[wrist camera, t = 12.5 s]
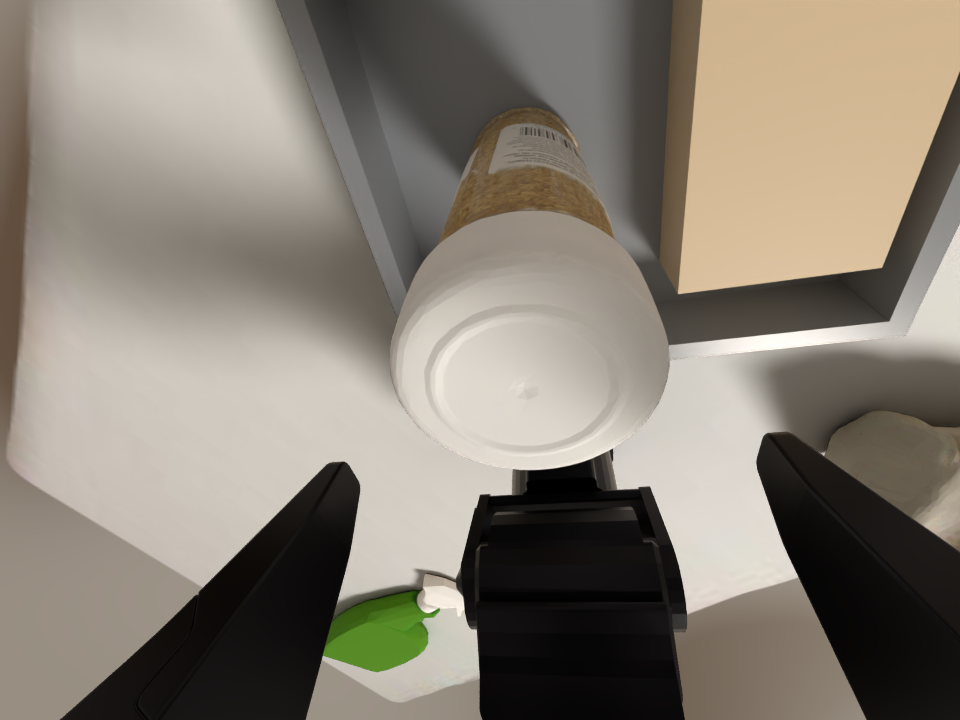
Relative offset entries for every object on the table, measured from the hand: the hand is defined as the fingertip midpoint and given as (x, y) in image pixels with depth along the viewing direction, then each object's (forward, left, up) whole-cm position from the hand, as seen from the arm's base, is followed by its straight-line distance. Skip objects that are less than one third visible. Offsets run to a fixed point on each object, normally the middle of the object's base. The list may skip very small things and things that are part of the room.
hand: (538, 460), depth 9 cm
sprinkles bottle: (+3, 0, -13) cm, 13 cm away
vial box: (+3, -9, -12) cm, 16 cm away
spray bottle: (-42, +21, -14) cm, 49 cm away
